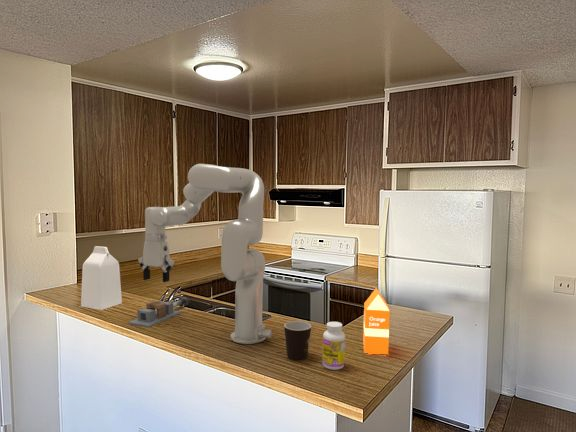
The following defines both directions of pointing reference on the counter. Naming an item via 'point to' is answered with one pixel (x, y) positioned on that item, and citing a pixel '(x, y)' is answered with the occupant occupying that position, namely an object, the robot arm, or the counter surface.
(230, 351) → the counter surface
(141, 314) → the bearing block
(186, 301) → the shaft
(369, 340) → the orange juice
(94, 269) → the milk
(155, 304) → the block
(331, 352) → the supplement bottle
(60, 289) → the counter surface
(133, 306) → the counter surface
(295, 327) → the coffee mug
